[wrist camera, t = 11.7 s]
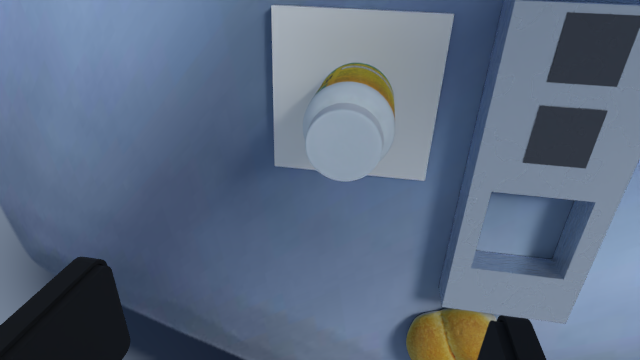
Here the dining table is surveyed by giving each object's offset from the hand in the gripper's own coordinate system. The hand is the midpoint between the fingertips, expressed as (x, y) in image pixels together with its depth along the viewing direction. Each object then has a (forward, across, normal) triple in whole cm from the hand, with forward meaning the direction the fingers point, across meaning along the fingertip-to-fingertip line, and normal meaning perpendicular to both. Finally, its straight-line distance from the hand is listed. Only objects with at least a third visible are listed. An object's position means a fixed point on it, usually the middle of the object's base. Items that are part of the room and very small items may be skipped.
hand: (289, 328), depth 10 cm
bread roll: (+22, -11, +23) cm, 34 cm away
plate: (+22, 0, 0) cm, 22 cm away
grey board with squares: (+22, -14, +5) cm, 27 cm away
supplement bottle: (+22, 0, 0) cm, 22 cm away
